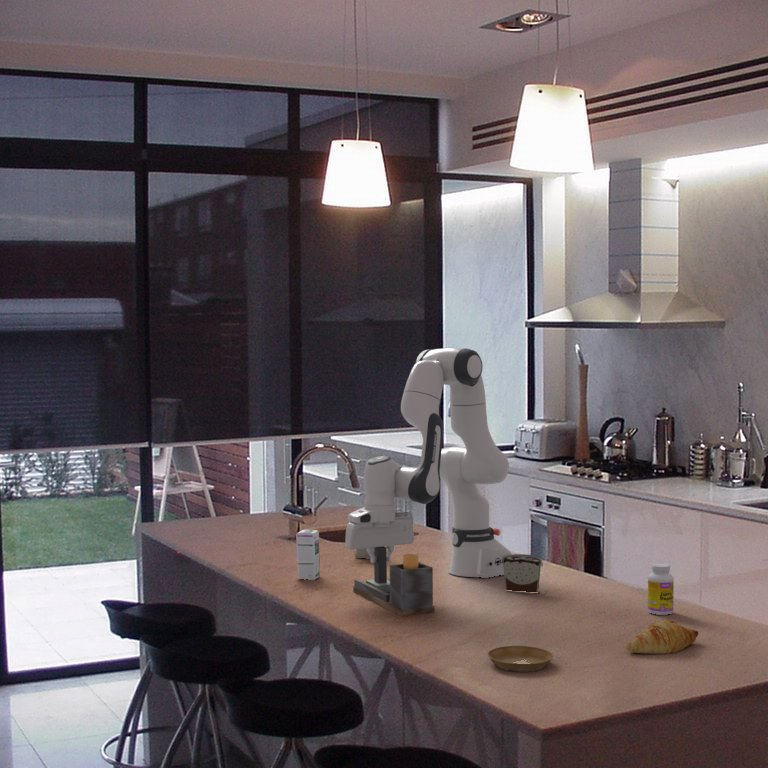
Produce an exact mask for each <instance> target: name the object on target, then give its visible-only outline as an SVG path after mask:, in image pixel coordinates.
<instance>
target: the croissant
mask: <svg viewBox="0 0 768 768" xmlns="http://www.w3.org/2000/svg"><path fill="white" fill-rule="evenodd" d="M698 636H699V631H698V630H696V629H693V628H692V629H691V628H690V627H684V626H683V625H681V624H678V623H677V622H676V621H673V620H672V621H671V620H668V619H667V620H666V619H662V620H659V621H655V622H653V623H651V624H650V625H648V627H647V628H645V629H643V630H642V631H641V632H640V634H639V635H636V636H634V637H633V639H632V640H631V641H630V642H628V643H626V650H627V651H628V652H630V653H635V654H647V655H648V654H649V655H650V654H654V655H658V654H659V655H661V654H663V655H665V653H666V654H670V653H677V652H680V651H682V650H684V649H685V648H686V647H689V646H690V645H692V644H693V643H694V642H695V641H696V640H697V637H698ZM679 650H680V651H679ZM676 651H677V652H676Z"/></svg>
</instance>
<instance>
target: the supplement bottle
mask: <svg viewBox="0 0 768 768" xmlns="http://www.w3.org/2000/svg"><path fill="white" fill-rule="evenodd" d="M670 570H671V565H670V564H668V563H664V562H663V563H662V562H661V563H660V562H659V563H658V562H655V563H652V565H651V571H652V572H651V573H650V574H649V575H648V577H647V612H648V613H649V614H651V613H652V615H655V614H656V615H655V616H669V615H668V614H670V615H672V614H673V613H674V589H675V588H674V583H675V581H674V580H675V579H674V576H673V575H672V574H671V573H670Z"/></svg>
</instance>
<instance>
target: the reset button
mask: <svg viewBox="0 0 768 768" xmlns="http://www.w3.org/2000/svg"><path fill="white" fill-rule="evenodd" d="M402 556H403V557H402V558H403V562H402V564H403V565H404V570H407V569H417V568H418V562H419V555H418V554H415V553H407V554H403V555H402Z"/></svg>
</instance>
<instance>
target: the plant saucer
mask: <svg viewBox="0 0 768 768" xmlns="http://www.w3.org/2000/svg"><path fill="white" fill-rule="evenodd" d="M487 656H488V658H489V659H490V661H491V662H492V663H493V664H494V665H495V666H496V667H497V666H498V668H499V667H500V668H499V669H501V668H503V669H502V670H504V669H507V670H506V671H508V670H514V671H513V672H516V671H528V672H533V671H532V670H536V671H539V670H542V669H543V667H544V668H545V667H546V666H548V664H549V663H550V662H551V661H552V659H553V658H554V654H553V653H552V652H551V651H550V650H547V649H544V648H541V647H536V646H529V645H506V646H505V645H503V646H499V647H495V648H493V649H490V650H488V651H487ZM524 659H525V660H527V661H526V662H528V661H529V662H528V663H530V662H531V663H530V664H517V663H513V662H516V661H521V660H524ZM525 660H524V661H525ZM538 669H539V670H538Z"/></svg>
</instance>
